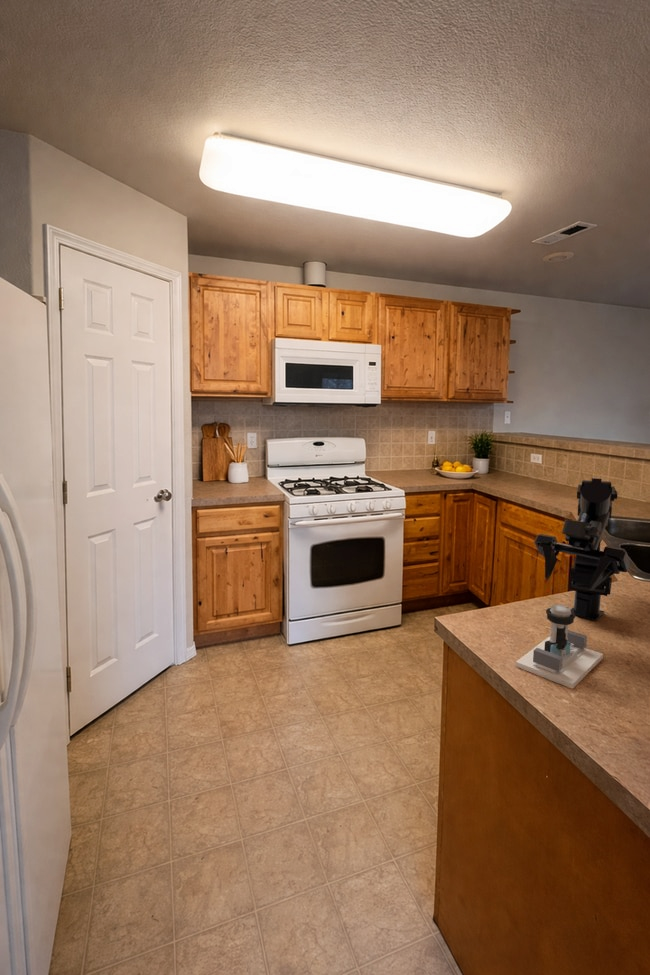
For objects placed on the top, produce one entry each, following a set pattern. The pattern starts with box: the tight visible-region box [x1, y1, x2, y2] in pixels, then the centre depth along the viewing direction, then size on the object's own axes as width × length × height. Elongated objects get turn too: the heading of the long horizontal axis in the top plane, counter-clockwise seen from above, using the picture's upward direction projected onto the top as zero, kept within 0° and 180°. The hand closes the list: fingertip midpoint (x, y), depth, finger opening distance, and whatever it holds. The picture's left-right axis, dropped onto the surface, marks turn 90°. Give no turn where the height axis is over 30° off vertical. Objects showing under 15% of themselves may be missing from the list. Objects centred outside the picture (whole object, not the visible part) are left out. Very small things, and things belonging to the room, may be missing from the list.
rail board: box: [515, 629, 604, 690], centre depth 98 cm, size 16×11×4 cm
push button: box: [544, 604, 576, 657], centre depth 98 cm, size 7×5×10 cm
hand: (567, 584), depth 105 cm, fingers open, 9 cm apart
